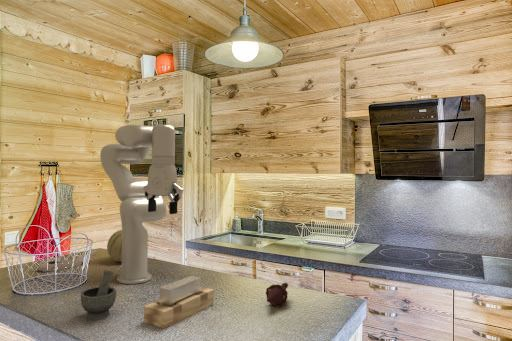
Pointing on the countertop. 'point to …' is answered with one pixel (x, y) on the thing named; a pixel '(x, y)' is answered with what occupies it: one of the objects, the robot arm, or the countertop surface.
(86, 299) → the mortar and pestle
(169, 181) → the robot arm
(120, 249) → the cantaloupe
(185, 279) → the grey boxy piece
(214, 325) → the countertop surface
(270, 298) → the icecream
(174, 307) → the brown wooden rectangular block
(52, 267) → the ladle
